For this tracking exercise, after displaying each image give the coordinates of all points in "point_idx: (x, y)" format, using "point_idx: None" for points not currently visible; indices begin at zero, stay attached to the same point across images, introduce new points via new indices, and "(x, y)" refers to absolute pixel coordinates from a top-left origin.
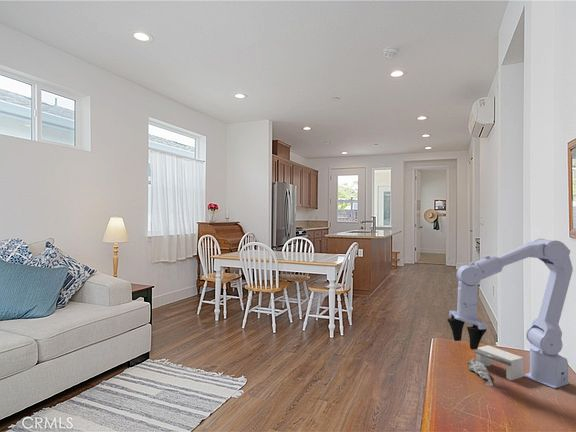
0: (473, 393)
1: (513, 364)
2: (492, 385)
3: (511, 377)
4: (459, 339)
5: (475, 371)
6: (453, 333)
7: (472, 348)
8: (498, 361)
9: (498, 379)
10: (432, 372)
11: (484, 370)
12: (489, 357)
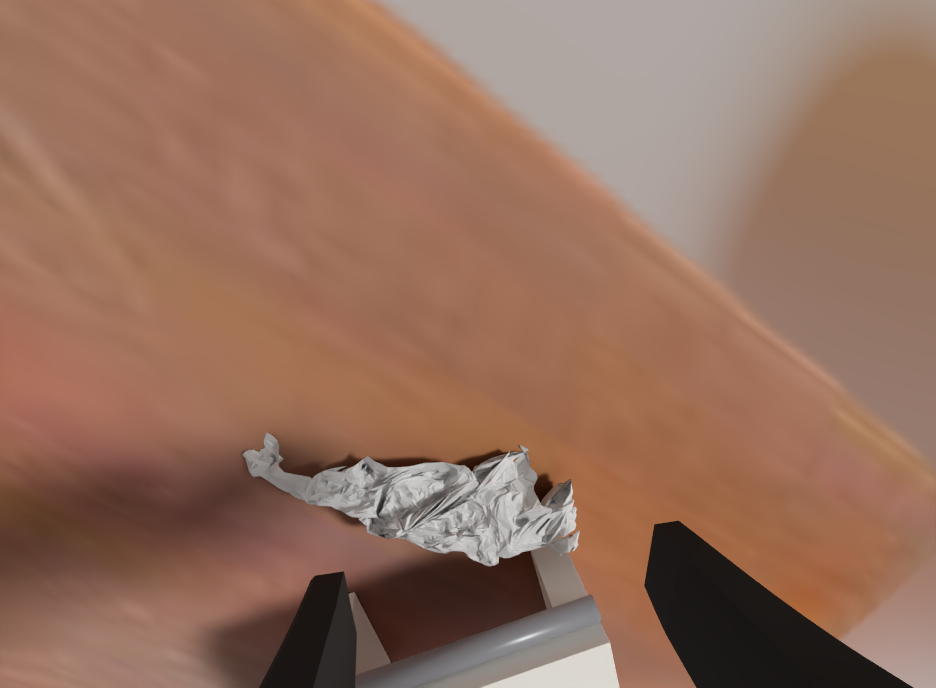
0: (109, 255)
1: None
2: (248, 465)
3: None
4: (657, 588)
5: (455, 471)
6: (752, 600)
7: (305, 596)
8: (387, 665)
9: (346, 546)
10: (542, 145)
11: (401, 521)
12: (461, 644)
